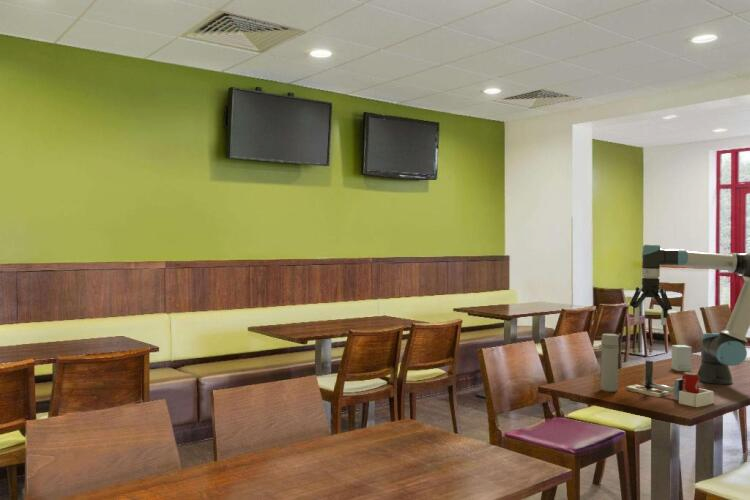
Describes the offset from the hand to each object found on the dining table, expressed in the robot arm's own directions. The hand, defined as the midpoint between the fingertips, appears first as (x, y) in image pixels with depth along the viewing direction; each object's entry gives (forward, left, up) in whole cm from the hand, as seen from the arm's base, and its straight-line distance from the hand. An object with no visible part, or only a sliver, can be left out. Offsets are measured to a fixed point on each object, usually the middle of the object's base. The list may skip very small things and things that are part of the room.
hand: (649, 323), depth 303 cm
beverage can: (+15, +29, -29) cm, 43 cm away
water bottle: (+27, -3, -29) cm, 40 cm away
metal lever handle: (+15, +16, -28) cm, 36 cm away
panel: (+15, +9, -29) cm, 34 cm away
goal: (+15, +31, -29) cm, 45 cm away
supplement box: (-47, -12, -29) cm, 56 cm away
